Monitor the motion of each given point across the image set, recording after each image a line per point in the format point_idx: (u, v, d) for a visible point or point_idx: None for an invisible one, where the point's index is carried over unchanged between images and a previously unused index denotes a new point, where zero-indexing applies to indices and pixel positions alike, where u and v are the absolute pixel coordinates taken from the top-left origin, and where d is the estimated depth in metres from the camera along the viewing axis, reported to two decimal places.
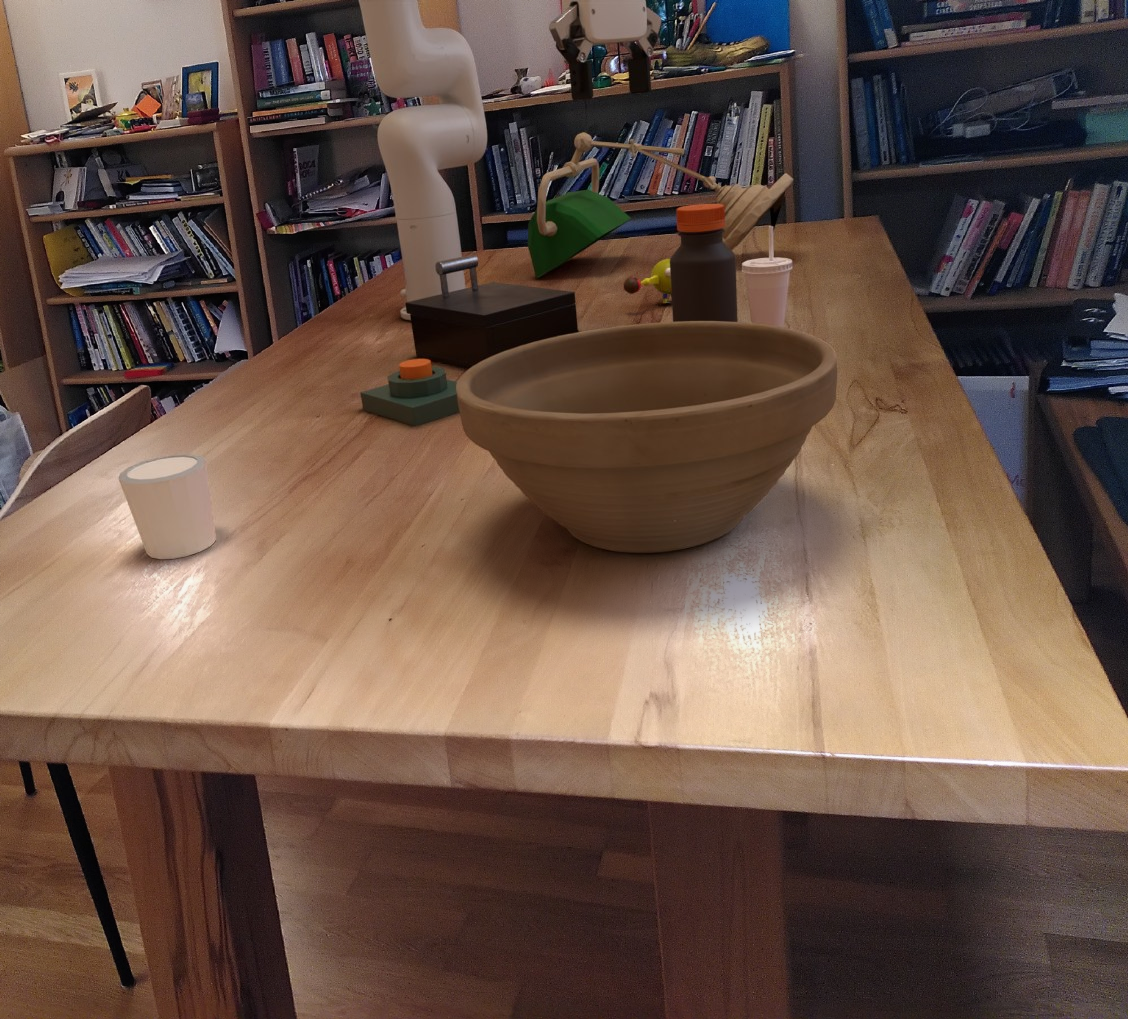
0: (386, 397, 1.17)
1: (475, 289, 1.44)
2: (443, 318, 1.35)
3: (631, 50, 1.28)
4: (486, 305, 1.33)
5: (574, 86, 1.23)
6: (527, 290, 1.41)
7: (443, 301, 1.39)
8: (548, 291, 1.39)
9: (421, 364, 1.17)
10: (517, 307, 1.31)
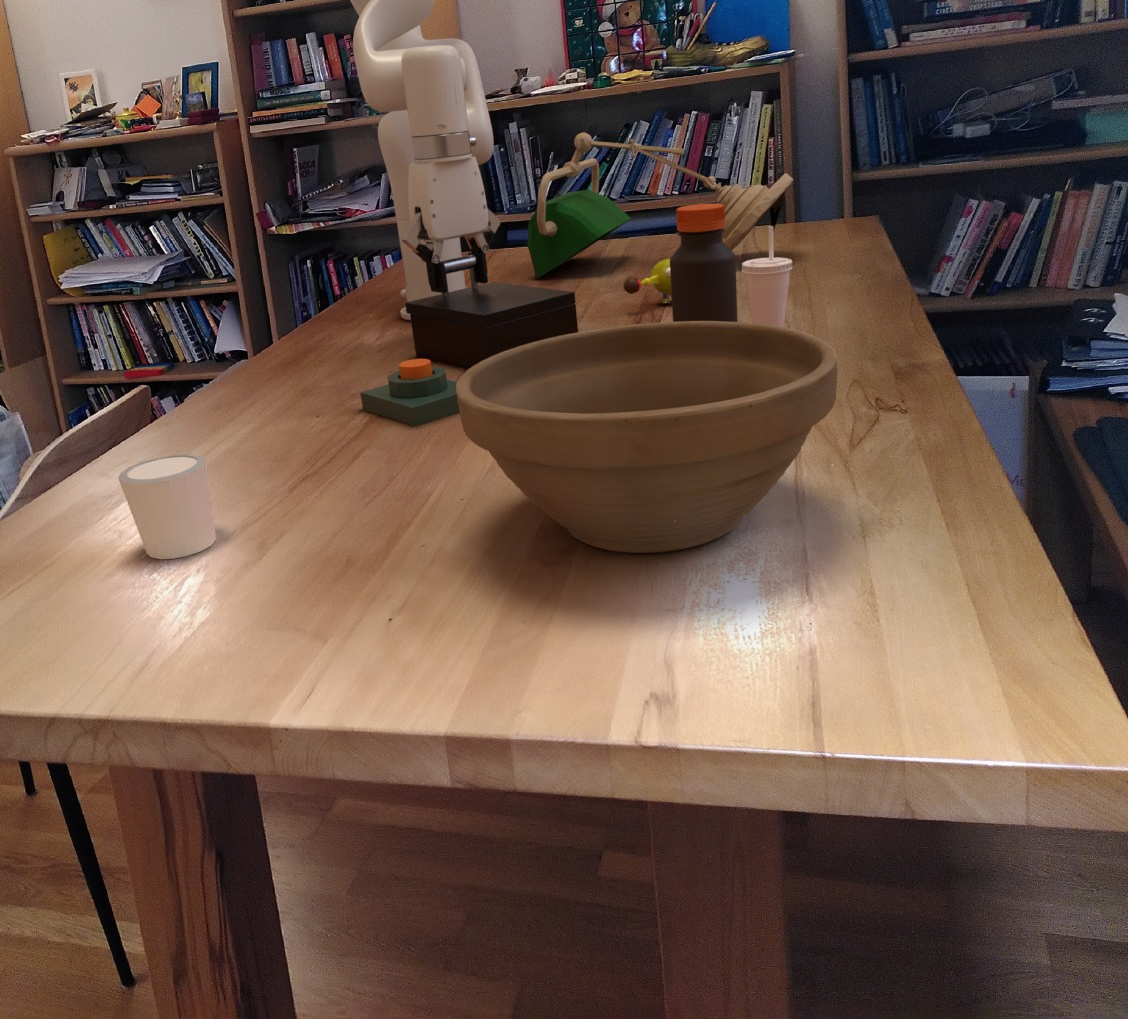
0: (386, 397, 1.17)
1: (475, 289, 1.44)
2: (443, 318, 1.35)
3: (470, 244, 1.44)
4: (486, 305, 1.33)
5: (431, 281, 1.40)
6: (527, 290, 1.41)
7: (443, 301, 1.39)
8: (548, 291, 1.39)
9: (421, 364, 1.17)
10: (517, 307, 1.31)
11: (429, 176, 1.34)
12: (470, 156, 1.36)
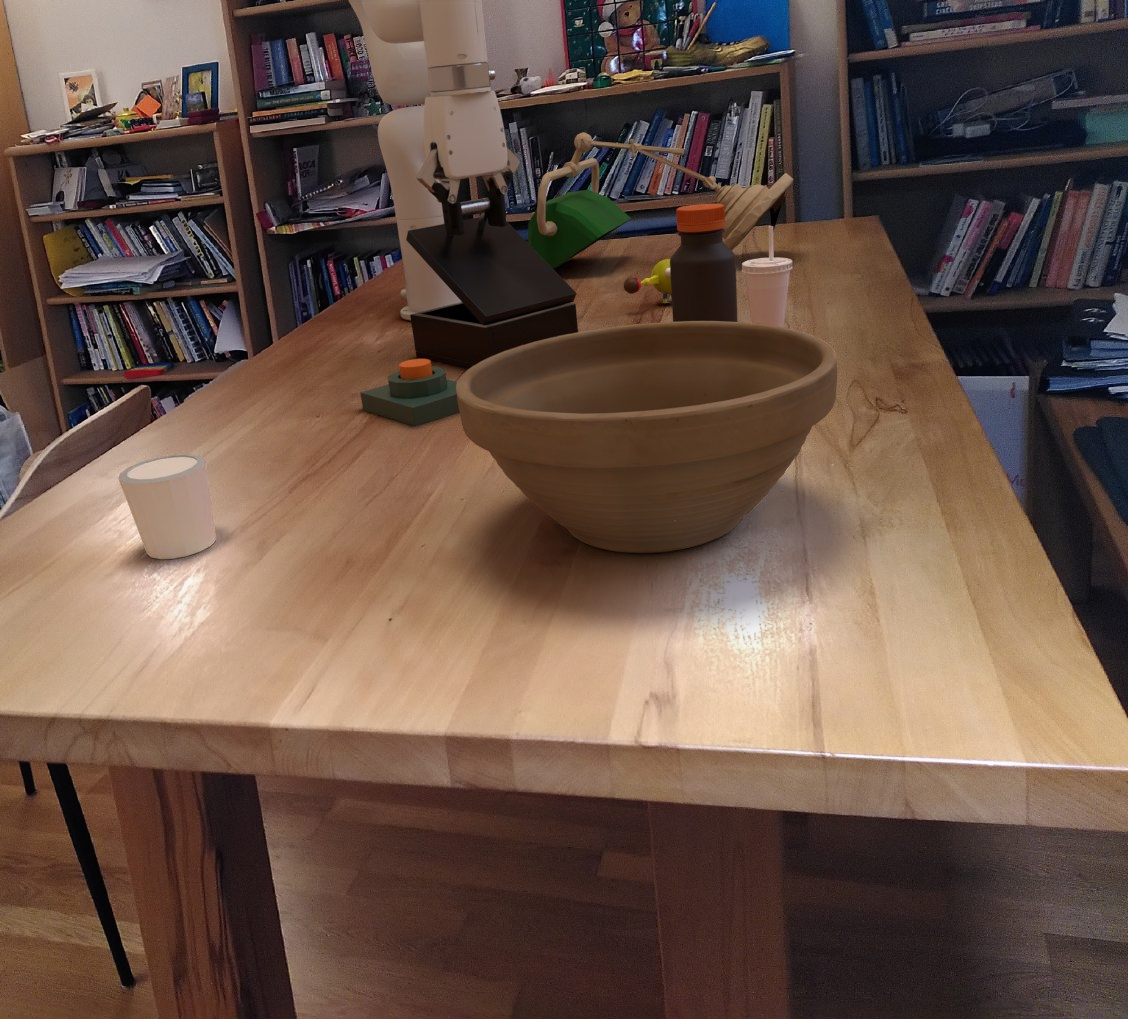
0: (386, 397, 1.17)
1: (481, 230, 1.39)
2: (443, 280, 1.32)
3: (488, 185, 1.37)
4: (489, 287, 1.32)
5: (447, 223, 1.33)
6: (532, 262, 1.38)
7: (447, 249, 1.34)
8: (552, 277, 1.37)
9: (421, 364, 1.17)
10: (519, 308, 1.31)
11: (446, 109, 1.26)
12: (489, 89, 1.29)
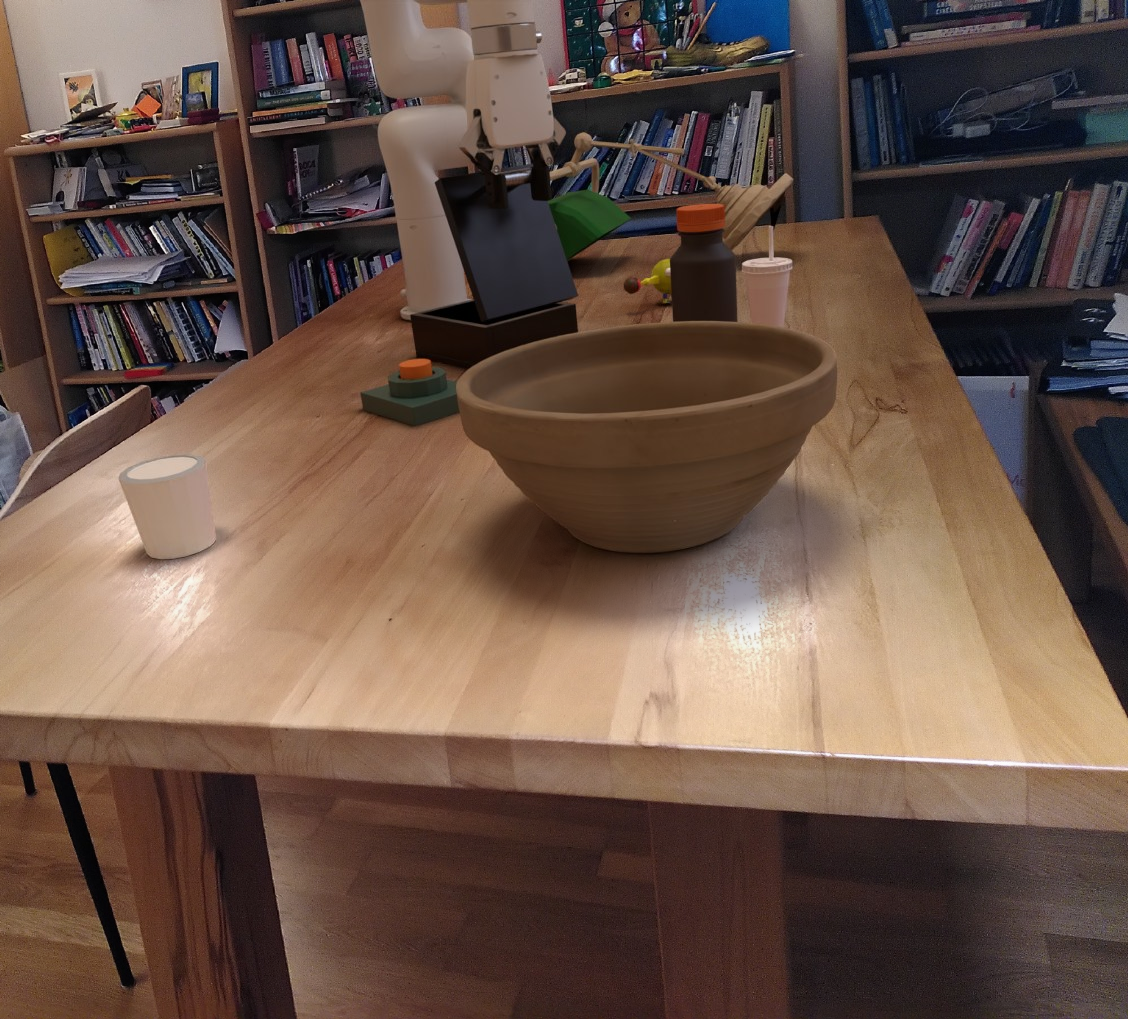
0: (386, 397, 1.17)
1: (511, 189, 1.32)
2: (458, 251, 1.28)
3: (532, 156, 1.28)
4: (500, 277, 1.29)
5: (489, 196, 1.25)
6: (548, 244, 1.34)
7: (472, 214, 1.28)
8: (561, 269, 1.35)
9: (421, 364, 1.17)
10: (520, 310, 1.31)
11: (491, 73, 1.18)
12: (536, 52, 1.20)
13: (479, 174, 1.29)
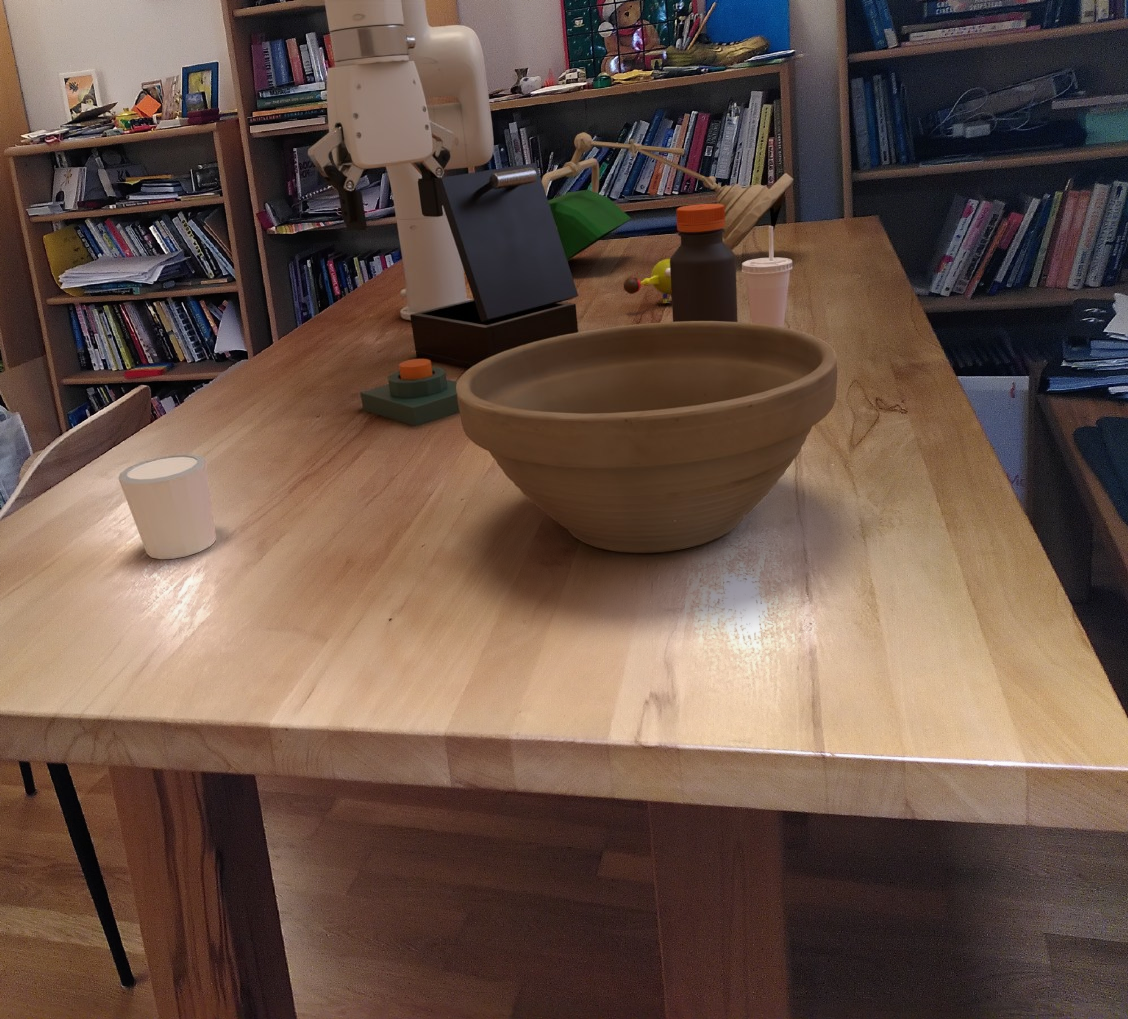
0: (386, 397, 1.17)
1: (512, 189, 1.32)
2: (458, 251, 1.28)
3: (420, 169, 1.14)
4: (500, 277, 1.29)
5: (345, 216, 1.08)
6: (549, 244, 1.34)
7: (473, 213, 1.28)
8: (561, 269, 1.35)
9: (421, 364, 1.17)
10: (520, 310, 1.31)
11: (352, 82, 1.03)
12: (406, 58, 1.05)
13: (480, 174, 1.29)
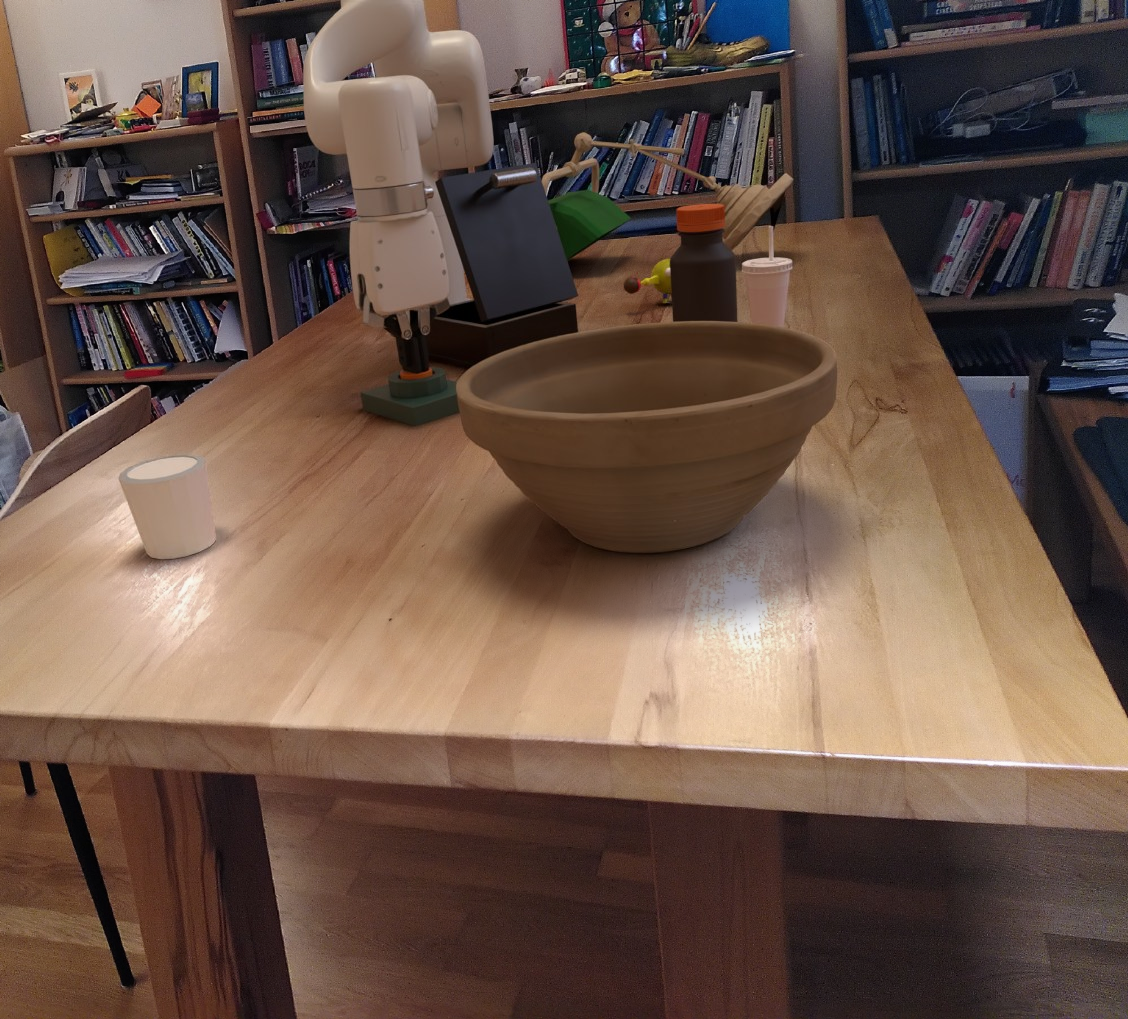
0: (386, 397, 1.17)
1: (512, 189, 1.32)
2: (458, 251, 1.28)
3: (410, 320, 1.17)
4: (500, 277, 1.29)
5: (402, 360, 1.17)
6: (549, 244, 1.34)
7: (473, 213, 1.28)
8: (561, 269, 1.35)
9: (422, 372, 1.17)
10: (520, 310, 1.31)
11: (374, 238, 1.08)
12: (425, 212, 1.11)
13: (480, 174, 1.29)
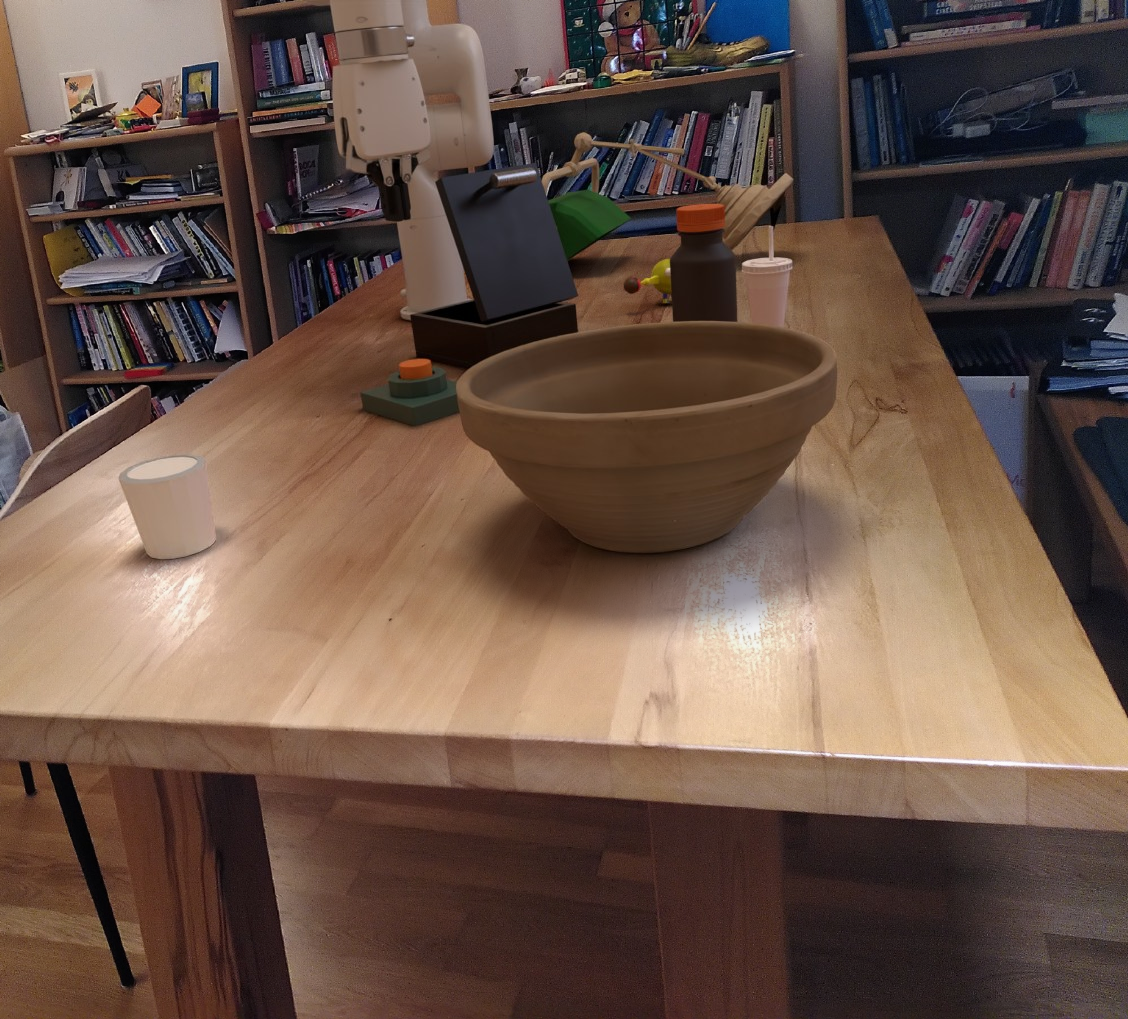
0: (386, 397, 1.17)
1: (512, 189, 1.32)
2: (458, 251, 1.28)
3: (392, 169, 1.20)
4: (500, 277, 1.29)
5: (384, 208, 1.20)
6: (549, 244, 1.34)
7: (473, 213, 1.28)
8: (561, 269, 1.35)
9: (421, 364, 1.17)
10: (520, 310, 1.31)
11: (356, 79, 1.12)
12: (406, 57, 1.14)
13: (480, 174, 1.29)
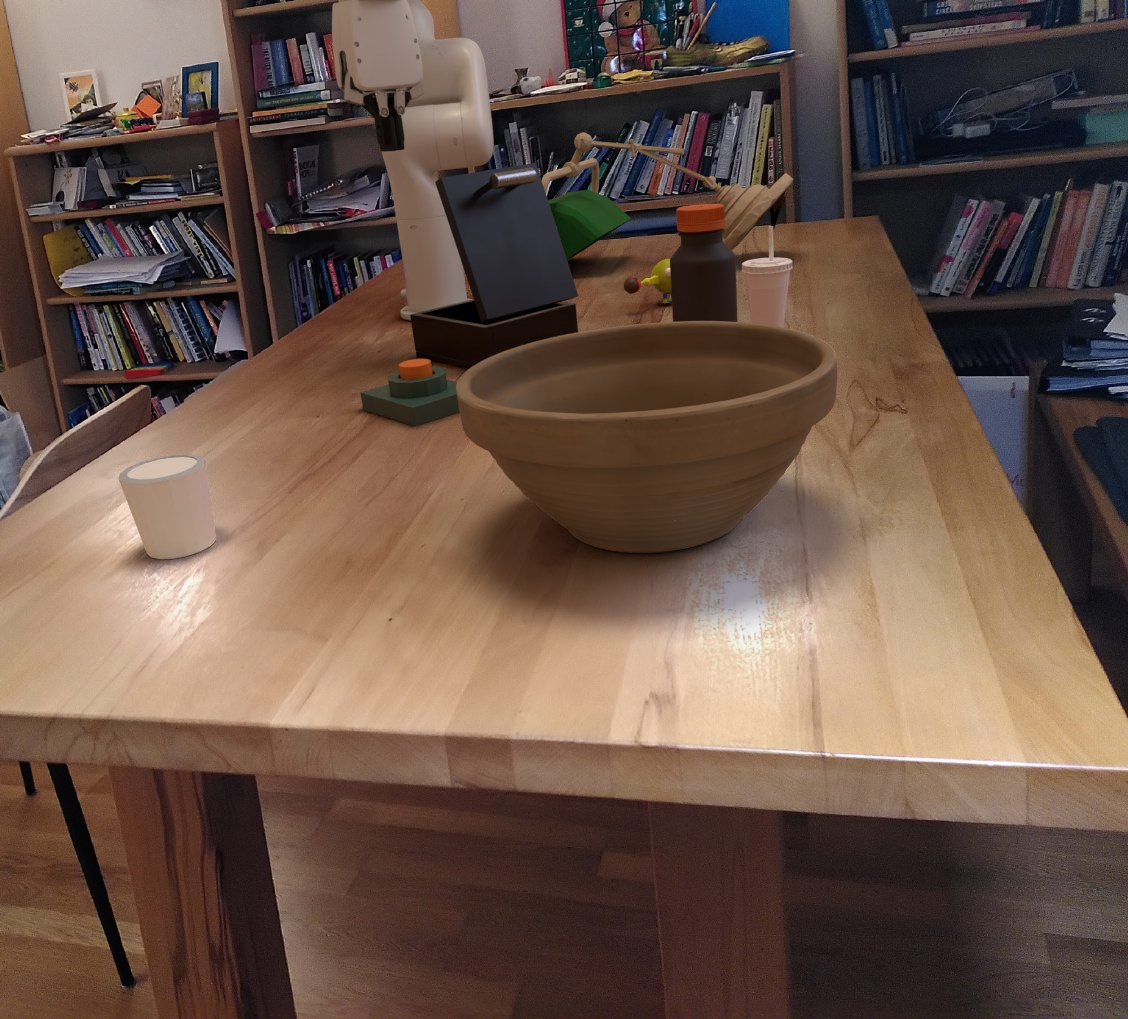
0: (386, 397, 1.17)
1: (512, 189, 1.32)
2: (458, 251, 1.28)
3: (387, 103, 1.30)
4: (500, 277, 1.29)
5: (380, 139, 1.29)
6: (549, 244, 1.34)
7: (473, 213, 1.28)
8: (561, 269, 1.35)
9: (421, 364, 1.17)
10: (520, 310, 1.31)
11: (353, 15, 1.21)
12: None
13: (480, 174, 1.29)
